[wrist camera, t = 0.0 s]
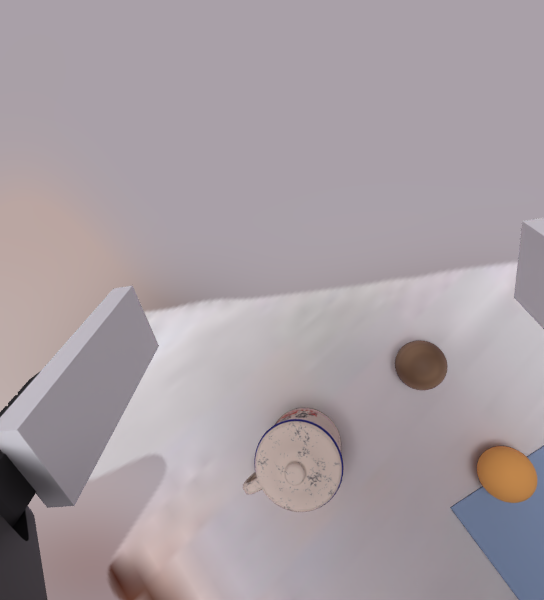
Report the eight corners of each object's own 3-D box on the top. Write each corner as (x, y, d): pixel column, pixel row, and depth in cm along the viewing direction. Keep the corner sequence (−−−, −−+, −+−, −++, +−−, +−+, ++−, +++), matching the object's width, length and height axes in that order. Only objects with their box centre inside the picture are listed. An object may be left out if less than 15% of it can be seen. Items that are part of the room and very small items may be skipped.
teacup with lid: (317, 391, 48) (309, 408, 37) (357, 458, 47) (362, 497, 35) (237, 439, 50) (205, 470, 38) (274, 506, 48) (252, 558, 37)
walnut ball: (450, 368, 46) (464, 373, 40) (411, 396, 46) (421, 403, 41) (420, 331, 47) (430, 330, 41) (382, 358, 47) (387, 360, 42)
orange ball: (534, 472, 43) (561, 492, 38) (492, 500, 44) (513, 523, 38) (500, 430, 44) (521, 443, 39) (459, 457, 45) (475, 474, 39)
